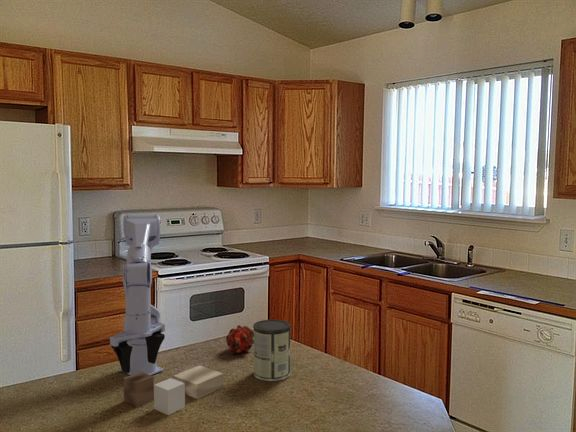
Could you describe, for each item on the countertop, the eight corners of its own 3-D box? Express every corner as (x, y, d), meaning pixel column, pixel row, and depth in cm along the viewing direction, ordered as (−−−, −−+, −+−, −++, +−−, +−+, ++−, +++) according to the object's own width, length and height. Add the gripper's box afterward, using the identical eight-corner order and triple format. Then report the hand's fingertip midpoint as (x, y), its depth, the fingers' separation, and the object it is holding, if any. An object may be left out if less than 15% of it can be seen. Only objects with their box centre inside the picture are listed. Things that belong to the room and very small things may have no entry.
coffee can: (264, 364, 150) (265, 317, 149) (296, 371, 146) (297, 322, 144) (246, 377, 141) (246, 326, 140) (279, 384, 137) (279, 332, 135)
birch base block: (173, 390, 133) (173, 375, 133) (199, 379, 140) (199, 365, 140) (197, 400, 128) (197, 384, 127) (223, 388, 135) (223, 373, 134)
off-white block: (154, 409, 122) (154, 384, 121) (171, 401, 126) (170, 378, 125) (168, 415, 119) (168, 390, 118) (184, 407, 123) (184, 383, 122)
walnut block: (124, 401, 126) (123, 377, 125) (141, 394, 130) (140, 371, 129) (136, 407, 123) (136, 383, 122) (153, 400, 127) (153, 376, 126)
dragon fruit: (248, 349, 168) (237, 367, 157) (227, 333, 168) (215, 350, 157) (263, 330, 165) (252, 348, 154) (241, 314, 166) (229, 331, 154)
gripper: (122, 322, 116) (123, 380, 117) (172, 308, 128) (173, 362, 129) (104, 316, 120) (105, 373, 122) (154, 304, 132) (155, 356, 133)
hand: (139, 367), depth 126 cm, fingers open, 7 cm apart
